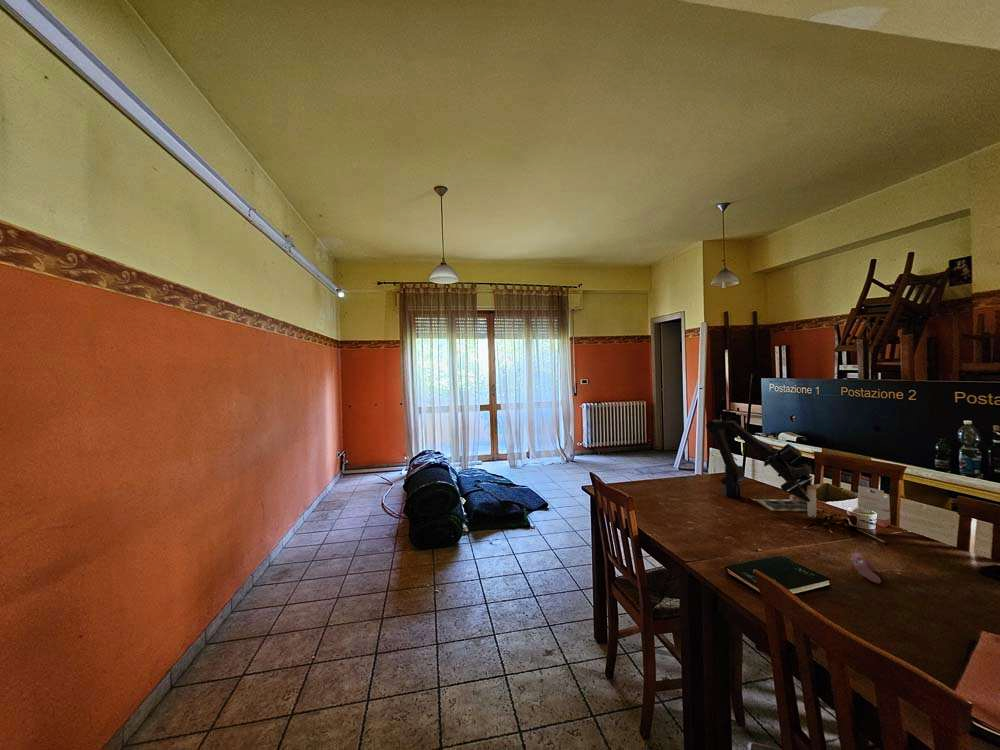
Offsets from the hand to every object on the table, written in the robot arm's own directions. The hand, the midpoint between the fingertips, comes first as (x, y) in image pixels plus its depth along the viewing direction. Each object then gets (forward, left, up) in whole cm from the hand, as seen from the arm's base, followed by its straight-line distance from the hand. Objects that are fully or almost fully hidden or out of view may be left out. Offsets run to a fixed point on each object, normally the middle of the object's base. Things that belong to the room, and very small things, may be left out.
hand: (813, 499), depth 161 cm
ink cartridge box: (+19, -6, -8) cm, 21 cm away
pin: (0, +1, -8) cm, 8 cm away
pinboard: (-4, +12, -7) cm, 15 cm away
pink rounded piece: (-17, -47, -8) cm, 51 cm away
